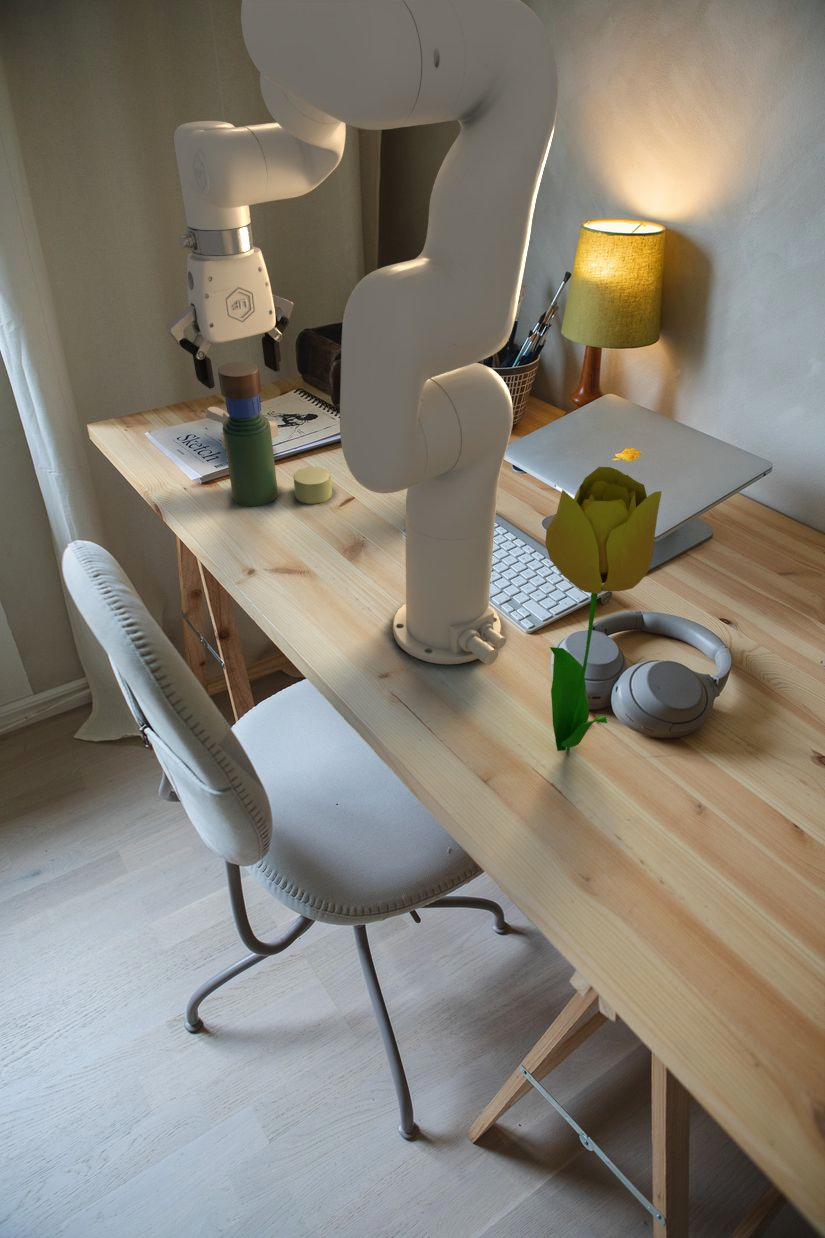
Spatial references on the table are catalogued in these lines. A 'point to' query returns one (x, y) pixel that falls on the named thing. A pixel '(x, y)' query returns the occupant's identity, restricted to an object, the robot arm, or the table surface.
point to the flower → (596, 572)
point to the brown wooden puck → (239, 380)
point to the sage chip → (312, 485)
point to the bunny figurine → (222, 415)
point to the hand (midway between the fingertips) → (240, 376)
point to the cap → (243, 407)
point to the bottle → (250, 460)
